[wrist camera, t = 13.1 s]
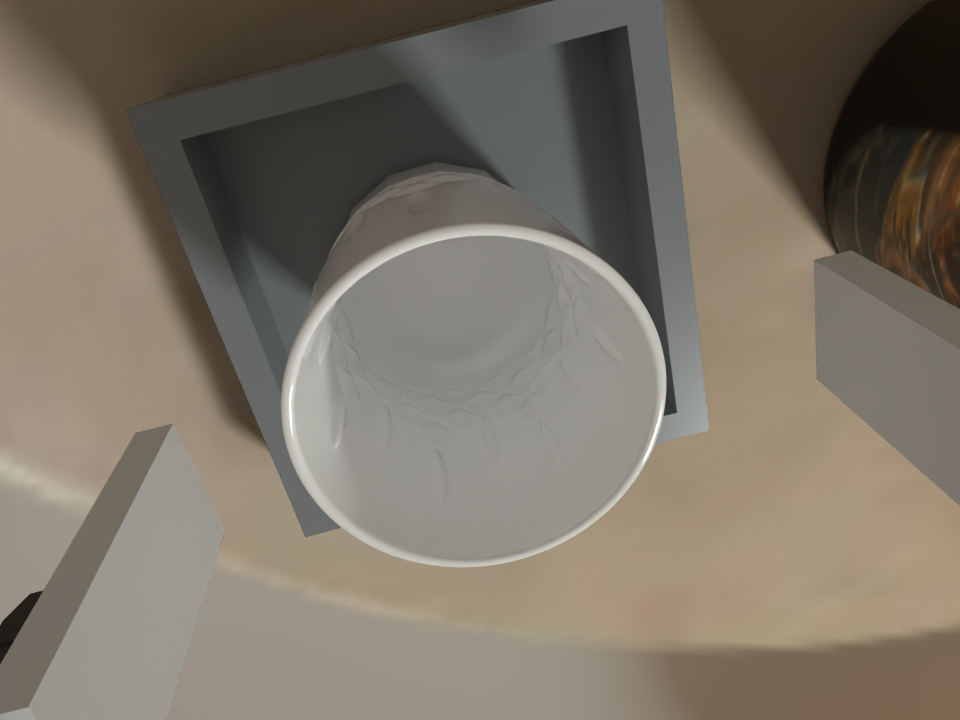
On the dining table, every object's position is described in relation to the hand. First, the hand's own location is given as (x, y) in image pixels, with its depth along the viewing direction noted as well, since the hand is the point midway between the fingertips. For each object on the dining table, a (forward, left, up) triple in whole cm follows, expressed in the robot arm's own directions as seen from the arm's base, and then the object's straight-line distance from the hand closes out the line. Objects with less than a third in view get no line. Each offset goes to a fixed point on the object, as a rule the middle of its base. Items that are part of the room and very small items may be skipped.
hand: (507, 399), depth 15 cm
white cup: (0, -1, -10) cm, 10 cm away
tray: (0, 0, -11) cm, 11 cm away
